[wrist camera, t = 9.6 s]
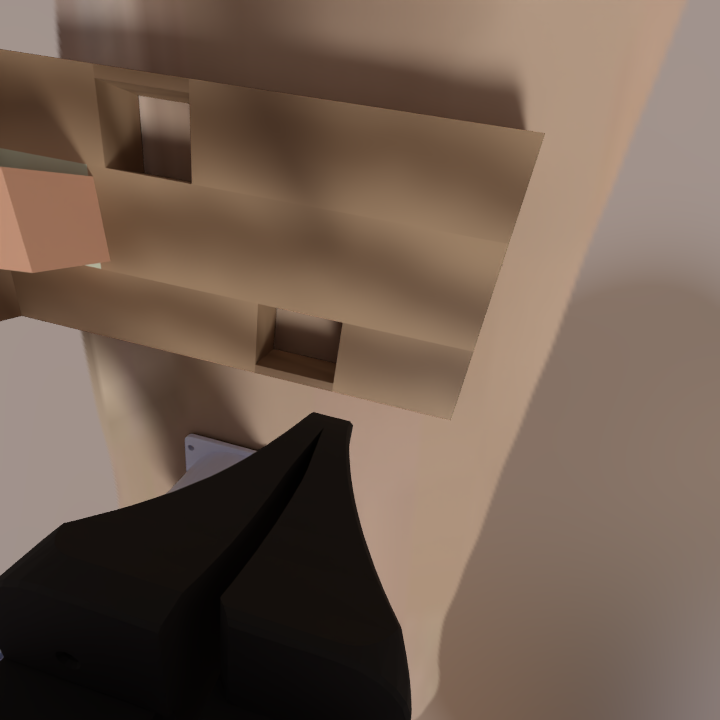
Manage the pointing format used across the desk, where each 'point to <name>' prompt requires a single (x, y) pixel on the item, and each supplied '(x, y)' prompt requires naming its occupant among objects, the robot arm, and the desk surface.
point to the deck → (273, 226)
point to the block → (49, 221)
